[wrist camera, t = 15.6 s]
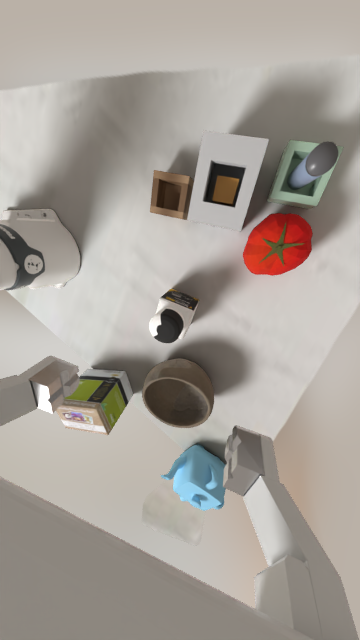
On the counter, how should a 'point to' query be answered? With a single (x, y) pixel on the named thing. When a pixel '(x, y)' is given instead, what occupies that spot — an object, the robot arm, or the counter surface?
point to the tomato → (278, 244)
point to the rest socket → (288, 163)
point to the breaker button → (225, 190)
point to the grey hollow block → (230, 161)
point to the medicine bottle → (173, 316)
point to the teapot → (198, 478)
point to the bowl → (178, 393)
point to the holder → (171, 194)
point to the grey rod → (313, 165)
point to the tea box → (96, 401)
